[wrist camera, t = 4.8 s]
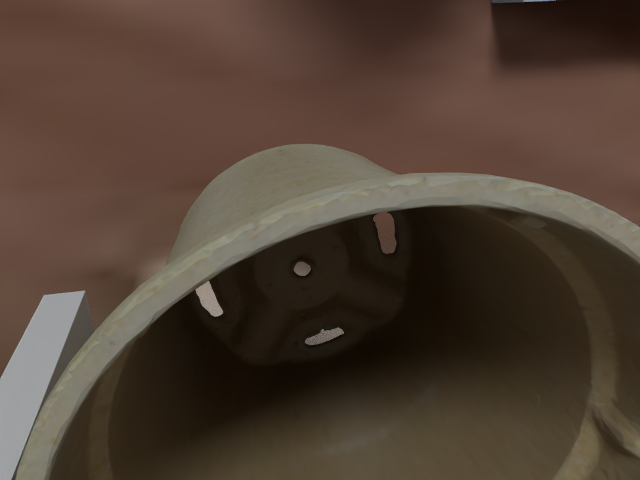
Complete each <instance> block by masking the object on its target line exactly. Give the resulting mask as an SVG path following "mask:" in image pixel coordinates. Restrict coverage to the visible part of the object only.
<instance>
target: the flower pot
mask: <svg viewBox="0 0 640 480" xmlns="http://www.w3.org/2000/svg"><path fill="white" fill-rule="evenodd" d="M382 212H388V213H390V214H391V215H392V217H393V219H394V225H395V235H394V236H395V239H396V242H397V245H396V248H395V251H394V253H389V254H385V253H383V252H382V249H381V245H380V241H379V238H378V231H377V228H376V226H375V222H374V221H373V217H374V216H375V215H376V214H378V213H382ZM302 261H303V262H305V263H306V264H308V265H310V267H311V271H310V272H309V273H308V274H307V275H306V276H300V275H297V274H296V273H295V272H294V267H295V265H296V263H298V262H302ZM207 281H209V282H210V284H211V287H212V289H213V291H214V293H215V296H216V298H217V301H218V303H219V305H220V307H221V308H222V310H223V314H222V315H220V316H218V317H214V316H212V315H211V314H210V313H209V312H208V311H207V310H206V309H205V308H204V307H203V306H202V305H201V303H200V299H199V297H198V295H197V294H196V290H195V289H197V288H198V287H200V286H201V285H202V284H204V283H206V282H207ZM337 327H339V328H341V329H342V330H343V331H344V334H342V335H339V336H338V337H336V338H334V339H331V340H329V341H326V342H324V343H321V344H317V345H308V344H306V343H305V340H306V339H307V338H309V337H312V336H314V335H317V334H319V333H320V331H321V330H322V329H324V328H325V329H324V331H325V330H331V329H335V328H337ZM15 480H640V227H638V226H637V225H635V224H633V223H631V222H630V221H629V220H627V219H625V218H623V217H621V216H620V215H618V214H617V213H616V212H613V211H611V210H609V209H607V208H605V207H603V206H601V205H599V204H597V203H595V202H592V201H590V200H588V199H585V198H583V197H580V196H577V195H575V194H572V193H570V192H566V191H563V190H559V189H556V188H552V187H549V186H545V185H542V184H538V183H532V182H527V181H522V180H517V179H511V178H505V177H499V176H493V175H487V174H472V173H411V174H405V175H398V174H396V173H393V172H391V171H389V170H387V169H384V168H382V167H380V166H378V165H376V164H374V163H373V162H371V161H370V160H368V159H366V158H364V157H362V156H360V155H357V154H355V153H352V152H349V151H346V150H342V149H339V148H335V147H330V146H325V145H317V144H294V145H285V146H279V147H275V148H271V149H268V150H264V151H261V152H259V153H256V154H253V155H251V156H249V157H247V158H245V159H243V160H241V161H239V162H237V163H236V164H234V165H233V166H231V167H230V168H228V169H227V170H225V171H224V172H223V173H221V174H220V175H219V176H217V177H216V178H215V179H214V180H213V181H212V182H211V183H210V184H209V185H208V186H207V187H206V188H205V189H204V190H203V192H202V193H201V194H200V196H199V197H198V198H197V200H196V201H195V202H194V204H193V205H192V207H191V208H190V210H189V211H188V213H187V214H186V216H185V218H184V220H183V222H182V225H181V228H180V231H179V233H178V236H177V239H176V242H175V244H174V246H173V249H172V251H171V253H170V255H169V258H168V260H167V262H166V264H165V267H164V268H162V269H161V270H160V271H159V272H157V273H156V274H155V275H153V276H152V277H151V278H149V279H148V280H147V281H146V282H144V283H143V284H142V285H140V286H139V287H138V288H137V289H136V290H135V291H134V292H133V293H132V294H131V295H130V296H128V297H127V298H126V299H125V300H124V301H123V302H122V303H121V304H120V305H119V306H118V307H117V308H116V309H115V310H114V311H113V312H112V313H111V314H110V315H109V316H108V317H107V318H106V319H105V320H104V322H103V323H102V324H101V325H100V326H99V327H98V328H97V329H96V331H95V332H94V333H93V334H92V335H91V336H90V338H89V339H88V340H87V341H86V342H85V344H84V345H83V346H82V347H81V349H80V350H79V351H78V352H77V354H76V355H75V356H74V357H73V358H72V360H71V361H70V362H69V364H68V366H67V367H66V369H65V370H64V372H63V373H62V375H61V377H60V378H59V380H58V381H57V383H56V385H55V386H54V388H53V390H52V391H51V393H50V394H49V396H48V398H47V399H46V401H45V402H44V405H43V407H42V409H41V411H40V413H39V416H38V418H37V420H36V422H35V424H34V427H33V429H32V432H31V435H30V437H29V440H28V442H27V445H26V448H25V450H24V453H23V456H22V459H21V462H20V464H19V467H18V471H17V476H16V479H15Z"/></svg>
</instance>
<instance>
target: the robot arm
mask: <svg viewBox="0 0 640 480" xmlns="http://www.w3.org/2000/svg"><path fill="white" fill-rule="evenodd" d="M93 333H94V330H93V325H92V320H91V315H90V311H89V306H88V301H87V296H86V292H85V291H78V292H69V293H60V294H51V295H44V296H43V298H42V300H41V302H40V304H39V306H38V308H37V310H36V312H35V313H34V315H33V317H32V319H31V321H30V323H29V325H28V327H27V329H26V331H25V333H24V334H23V336H22V338H21V340H20V342H19V344H18V346H17V348H16V350H15V352H14V354H13V355H12V357H11V359H10V361H9V363H8V365H7V367H6V369H5V371H4V373H3V375H2V376H1V378H0V480H15V479H16V476H17V471H18V467H19V464H20V462H21V459H22V456H23V453H24V450H25V448H26V445H27V442H28V440H29V437H30V435H31V432H32V429H33V427H34V424H35V422H36V420H37V418H38V416H39V413H40V411H41V409H42V407H43V405H44V402H45V401H46V399H47V398H48V396H49V394H50V393H51V391H52V390H53V388H54V386H55V385H56V383H57V381H58V380H59V378H60V377H61V375H62V373H63V372H64V370H65V369H66V367H67V366H68V364H69V362H70V361H71V360H72V358H73V357H74V356H75V355H76V354H77V352H78V351H79V350H80V349H81V347H82V346H83V345H84V344H85V342H86V341H87V340H88V339H89V338H90V336H91V335H92V334H93Z"/></svg>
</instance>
